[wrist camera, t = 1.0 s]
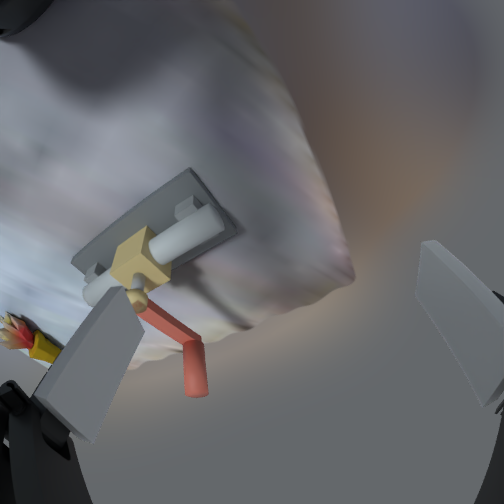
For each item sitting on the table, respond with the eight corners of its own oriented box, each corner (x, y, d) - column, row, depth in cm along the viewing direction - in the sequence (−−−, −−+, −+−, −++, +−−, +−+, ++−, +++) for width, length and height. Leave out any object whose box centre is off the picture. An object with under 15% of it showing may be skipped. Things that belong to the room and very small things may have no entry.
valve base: (73, 257, 39) (54, 305, 31) (189, 167, 34) (186, 209, 26) (120, 295, 47) (111, 343, 39) (235, 227, 41) (246, 277, 33)
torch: (70, 344, 61) (-1, 305, 43) (81, 350, 58) (2, 309, 39) (63, 369, 57) (-10, 334, 39) (73, 377, 54) (-8, 340, 35)
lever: (119, 295, 31) (108, 360, 24) (135, 285, 31) (126, 353, 24) (191, 344, 41) (195, 399, 34) (207, 338, 40) (213, 394, 33)
